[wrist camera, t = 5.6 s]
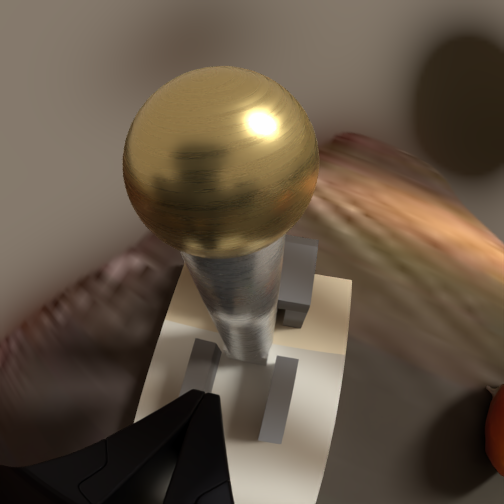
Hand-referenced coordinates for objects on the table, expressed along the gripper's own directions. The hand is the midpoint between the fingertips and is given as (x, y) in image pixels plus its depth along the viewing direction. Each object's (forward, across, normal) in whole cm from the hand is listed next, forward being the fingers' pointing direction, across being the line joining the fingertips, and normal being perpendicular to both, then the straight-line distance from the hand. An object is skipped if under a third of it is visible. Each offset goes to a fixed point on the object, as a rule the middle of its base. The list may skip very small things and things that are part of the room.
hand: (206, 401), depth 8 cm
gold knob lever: (+8, 0, +1) cm, 8 cm away
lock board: (+6, 0, +5) cm, 8 cm away
